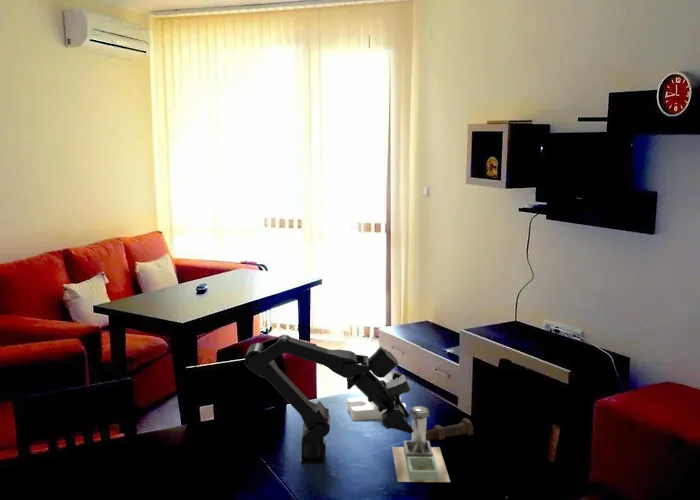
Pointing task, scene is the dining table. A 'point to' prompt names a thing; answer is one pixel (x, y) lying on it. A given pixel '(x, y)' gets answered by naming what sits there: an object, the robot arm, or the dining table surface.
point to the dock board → (402, 467)
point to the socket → (422, 473)
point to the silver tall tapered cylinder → (419, 428)
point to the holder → (407, 454)
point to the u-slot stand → (364, 409)
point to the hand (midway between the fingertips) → (410, 424)
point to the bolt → (450, 430)
